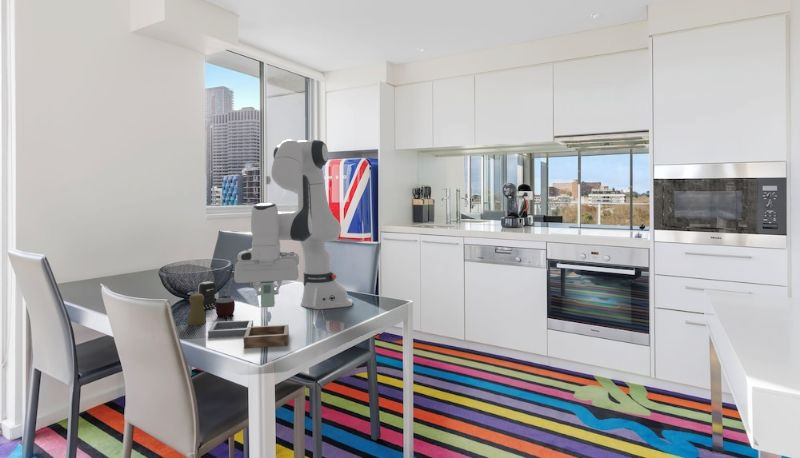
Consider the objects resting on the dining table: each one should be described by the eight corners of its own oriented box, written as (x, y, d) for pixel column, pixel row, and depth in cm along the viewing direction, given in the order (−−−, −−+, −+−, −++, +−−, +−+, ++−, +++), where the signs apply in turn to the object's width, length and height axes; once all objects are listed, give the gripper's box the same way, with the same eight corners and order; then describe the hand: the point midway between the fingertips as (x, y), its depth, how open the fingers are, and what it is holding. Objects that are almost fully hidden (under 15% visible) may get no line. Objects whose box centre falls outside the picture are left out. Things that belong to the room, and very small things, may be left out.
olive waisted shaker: (200, 319, 173) (199, 291, 172) (209, 322, 169) (208, 293, 168) (185, 323, 168) (184, 294, 167) (194, 326, 164) (193, 296, 163)
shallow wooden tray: (288, 334, 156) (288, 324, 156) (287, 345, 145) (287, 334, 144) (248, 336, 153) (247, 326, 153) (243, 348, 142) (243, 337, 142)
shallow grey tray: (253, 325, 166) (253, 319, 165) (249, 335, 155) (249, 329, 154) (214, 327, 163) (214, 321, 163) (208, 337, 152) (208, 331, 152)
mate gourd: (216, 320, 172) (215, 281, 171) (214, 315, 179) (213, 278, 178) (237, 318, 175) (236, 280, 174) (234, 313, 182) (233, 276, 181)
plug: (274, 303, 150) (273, 280, 150) (274, 307, 146) (273, 283, 145) (262, 304, 150) (261, 280, 149) (261, 308, 145) (260, 283, 144)
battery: (203, 311, 184) (202, 284, 183) (197, 310, 186) (196, 283, 185) (218, 308, 190) (217, 281, 189) (212, 306, 192) (212, 280, 191)
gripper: (298, 250, 152) (300, 290, 153) (235, 252, 147) (236, 294, 149) (299, 253, 146) (300, 295, 147) (232, 255, 141) (234, 298, 142)
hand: (267, 294), depth 148 cm, fingers closed on plug, 4 cm apart
